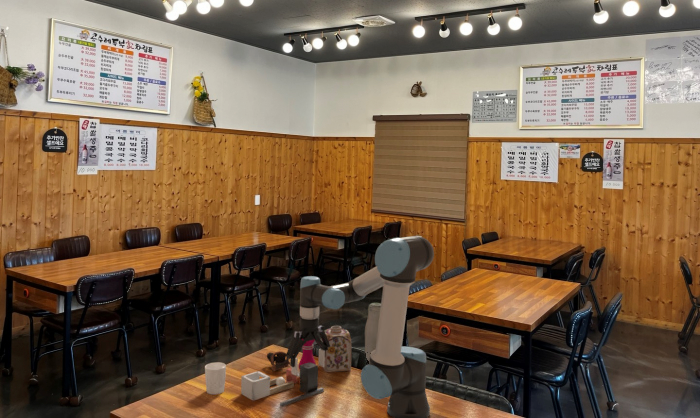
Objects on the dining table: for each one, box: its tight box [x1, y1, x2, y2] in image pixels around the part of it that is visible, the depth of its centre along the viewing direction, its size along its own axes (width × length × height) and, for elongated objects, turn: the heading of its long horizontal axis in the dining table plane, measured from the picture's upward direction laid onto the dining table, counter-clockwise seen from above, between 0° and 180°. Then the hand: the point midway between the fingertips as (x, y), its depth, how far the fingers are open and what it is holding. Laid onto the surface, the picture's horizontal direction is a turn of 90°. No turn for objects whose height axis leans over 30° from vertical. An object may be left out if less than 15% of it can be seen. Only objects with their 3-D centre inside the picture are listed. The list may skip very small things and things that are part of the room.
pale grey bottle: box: [364, 302, 381, 361], centre depth 232 cm, size 10×10×28 cm
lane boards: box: [269, 376, 295, 396], centre depth 207 cm, size 8×12×2 cm
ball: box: [275, 376, 286, 386], centre depth 208 cm, size 4×4×4 cm
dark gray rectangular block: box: [285, 362, 319, 394], centre depth 207 cm, size 16×5×10 cm, turn 44°
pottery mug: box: [266, 351, 290, 372], centre depth 228 cm, size 12×10×8 cm
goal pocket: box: [240, 370, 271, 402], centre depth 200 cm, size 8×8×7 cm
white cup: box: [204, 361, 227, 395], centre depth 202 cm, size 8×8×10 cm
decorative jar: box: [320, 325, 352, 373], centre depth 229 cm, size 12×12×18 cm
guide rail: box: [279, 387, 325, 408], centre depth 197 cm, size 1×20×1 cm, turn 134°
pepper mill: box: [298, 339, 317, 370], centre depth 218 cm, size 7×7×20 cm
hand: (308, 370), depth 204 cm, fingers open, 13 cm apart
